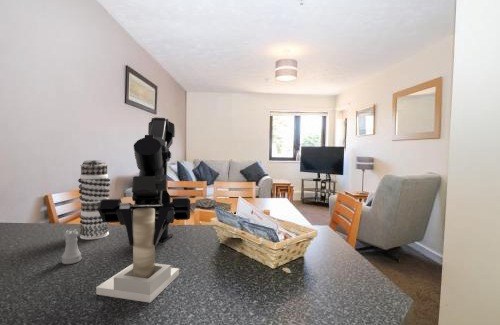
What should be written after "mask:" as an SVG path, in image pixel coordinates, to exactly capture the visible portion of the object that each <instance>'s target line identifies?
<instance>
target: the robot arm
mask: <svg viewBox="0 0 500 325" xmlns="http://www.w3.org/2000/svg"><path fill="white" fill-rule="evenodd" d="M175 126H176V125H175V123H173V122H171V121H170V120H169V118H166V117H157V116H156V117H151V120H150V121H149V122H148V126H147V127H148V128H147V130H148V132H147V134H144V137H143V138H140V139H138V140H136V141H135V143H134V144H133V151H134V157H135V158H134V159H135V161H136V167H137V169H138V170H139V172H138V175H137V176H133V177H132V184H131V186H132V187H131V193H132V202H134V203H133V204H132V203H131V202H122V199H121V198H109V199H103V200H101V201H100V202H99V206H98V211H99V213H100V216H101V218H102V220H103V222H106V223H109V224H110V223H119V224H120V225H121V226H125V229H126V232H127V233H126V234H127V238H128V244H129V246H130V248H133V210H134V209H137V208H154V209H155V235H154V246H155V247H156V246H157V245H158V244H159V242H160V243H164V242H166V241H167V240H170V238H172V237H174V235H173V234H171V233H170V230H169V229H170V224H173V223H174V222H175V220H176V221H188V220H190V219H191V199H190V198H189V197H188V196H187V197H185V196H184V197H182V196H181V197H172V198H171V195H170V193H169V192H168V162H169V161H170V160H171V158H172V152H171V151H170V147H171V146H172V145H173V143H174V142H173V141H174V140H173V138H176V137H175V135H176V130H175V129H176V128H175Z"/></svg>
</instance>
